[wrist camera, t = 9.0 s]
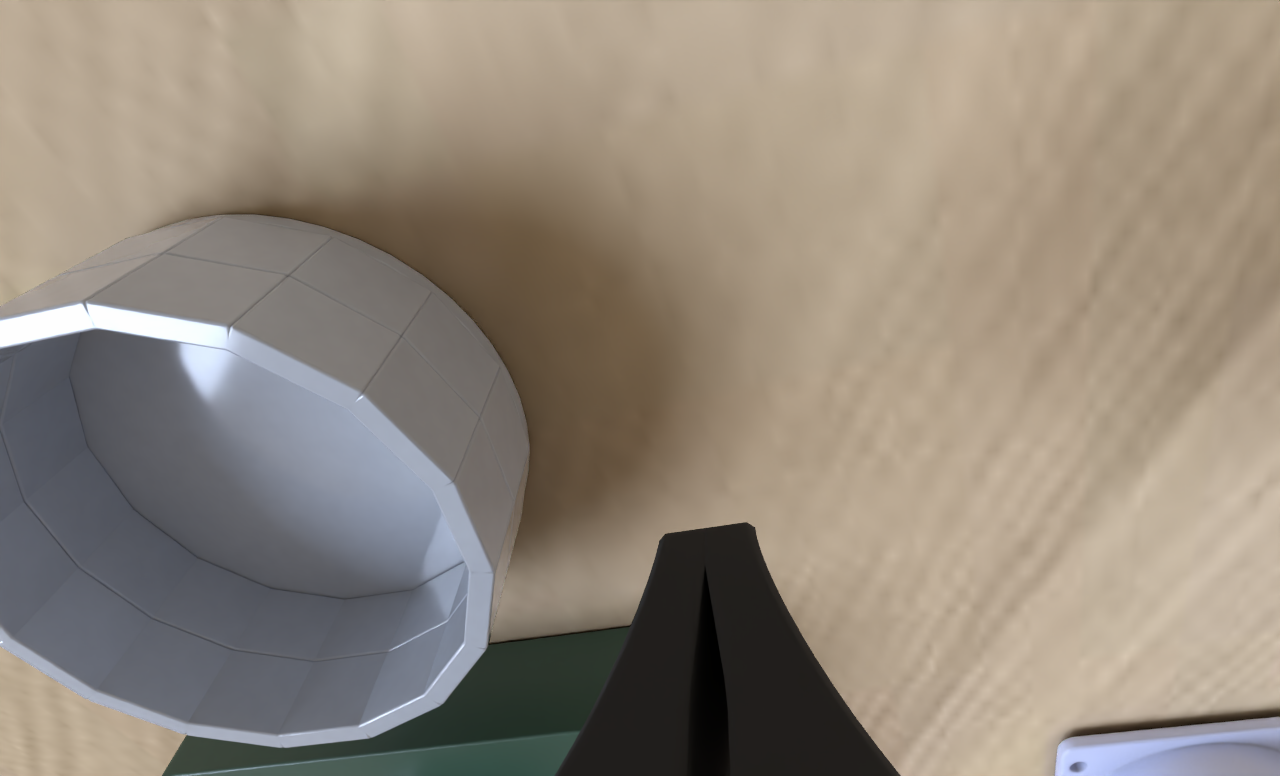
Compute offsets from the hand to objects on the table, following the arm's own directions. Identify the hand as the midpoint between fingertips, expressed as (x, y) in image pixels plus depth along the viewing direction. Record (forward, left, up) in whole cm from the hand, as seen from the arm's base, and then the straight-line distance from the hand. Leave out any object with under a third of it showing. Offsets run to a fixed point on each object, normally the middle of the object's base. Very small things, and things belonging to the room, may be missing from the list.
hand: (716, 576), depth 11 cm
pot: (0, +10, -6) cm, 12 cm away
